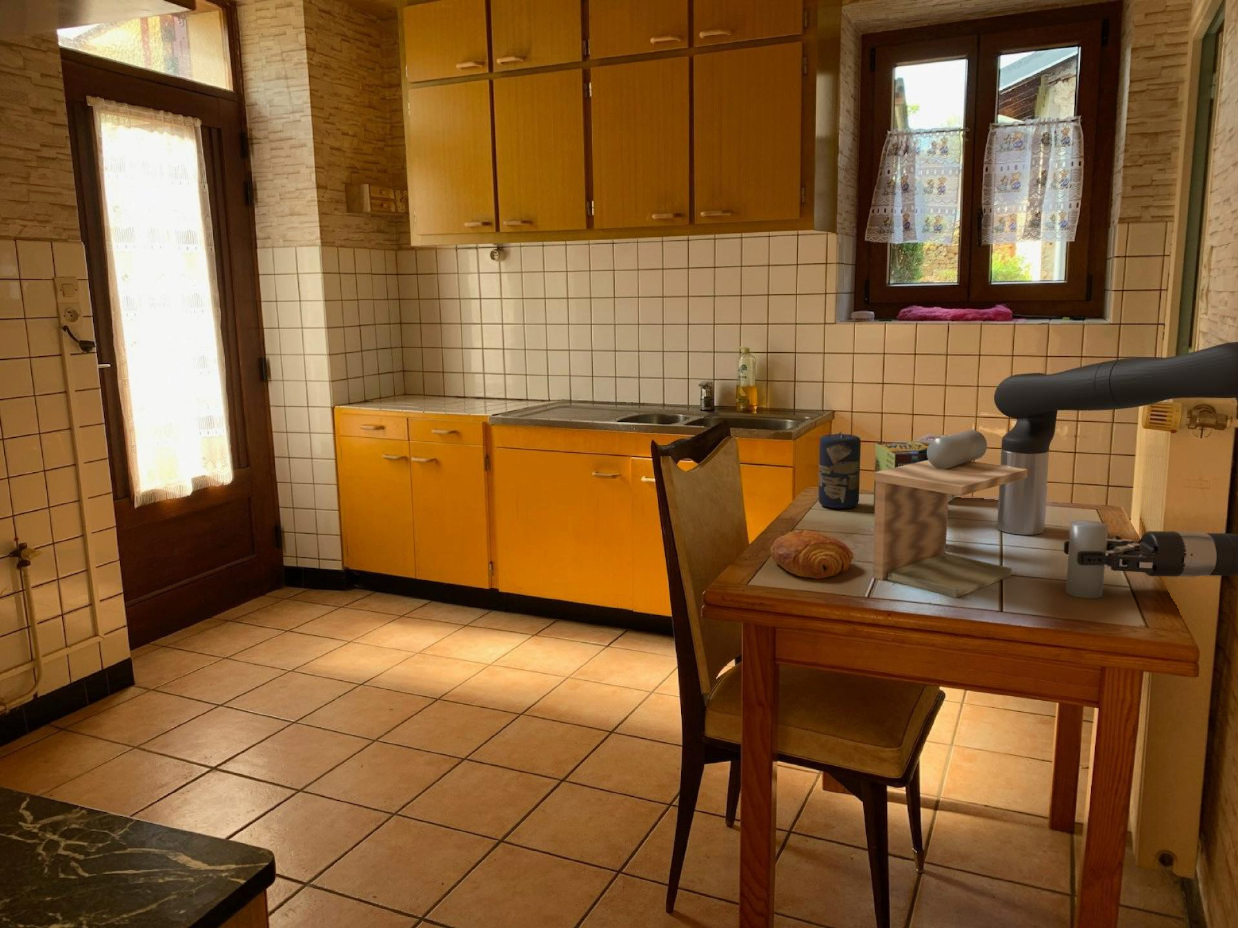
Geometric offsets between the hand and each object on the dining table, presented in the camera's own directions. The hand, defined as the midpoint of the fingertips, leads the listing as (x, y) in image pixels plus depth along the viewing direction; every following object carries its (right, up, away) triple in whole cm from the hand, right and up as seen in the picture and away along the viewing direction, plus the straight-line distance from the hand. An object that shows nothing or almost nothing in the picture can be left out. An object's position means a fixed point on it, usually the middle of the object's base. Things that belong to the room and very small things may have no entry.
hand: (1071, 552), depth 158 cm
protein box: (-11, +3, +58) cm, 59 cm away
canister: (-24, +5, +66) cm, 70 cm away
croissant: (-40, -5, +19) cm, 44 cm away
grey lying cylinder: (-19, +17, +9) cm, 27 cm away
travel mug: (-13, -2, +31) cm, 34 cm away
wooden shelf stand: (-17, -5, +11) cm, 21 cm away
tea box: (+2, +7, +74) cm, 74 cm away
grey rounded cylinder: (+3, -7, +1) cm, 7 cm away
